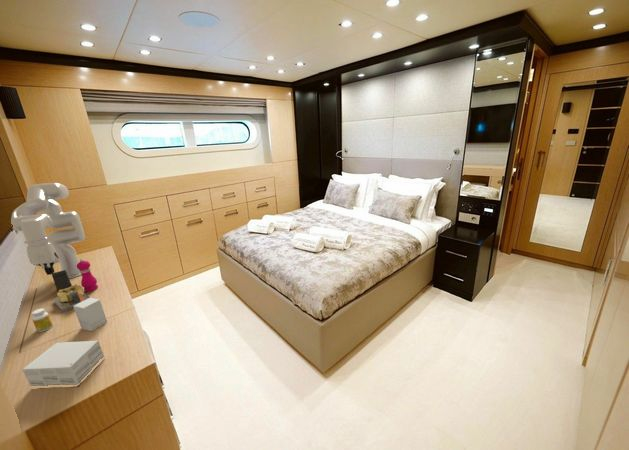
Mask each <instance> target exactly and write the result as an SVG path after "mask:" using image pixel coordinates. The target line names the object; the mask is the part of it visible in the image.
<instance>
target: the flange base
mask: <svg viewBox="0 0 629 450" xmlns="http://www.w3.org/2000/svg"><path fill="white" fill-rule="evenodd" d="M73 291H75V290H71V291H68V292H66V293H70V292H73ZM78 297H79V300H80V302H82V301H84V300H86V299H88V298H91V296H89V295H87V294H86V293H85V292H84V295H82V294H81V293H80V294H78ZM53 302H54V305H56V306H57V307H58V309H59V310H60V311H61V312H62V313H65V312H67V311H69V310H72V309H74V307H73V306H74V305H76V304H78V303H76V304H74V303H73V301H69V302H60V300H59V298H58V297H56V298H53ZM80 302H79V303H80Z"/></svg>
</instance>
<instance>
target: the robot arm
mask: <svg viewBox="0 0 629 450" xmlns="http://www.w3.org/2000/svg"><path fill="white" fill-rule="evenodd" d="M26 195H27V196H26V201H25V202H24V203H22V204H20V205H19V206H18V207H16V208H15V209H14V210H13V211H12V213H11V219H10V224H12V225H13V227H12V229H13V230H15V231H16V232H22V233H23V236H24V238H25V241H23V242H24V244H27V246H26V253H27V257H28V260H29V263H30V264H31V265H33V266H39V267H41V268H42V269H44V272H45V273H46V275H47V276H49V275H51V276H52V273H55V268H54V265H55V264H57V263H58V265H59V266H60V269H61V270H60V271H64V270H66V272H67V275H68V277H69V280H70V279H73V278H78V277H79V276H82V274H81V273H80V271H79V269H77V264H78V263H79V262H80V259H79V257H78V254H77V251H76V249H75V248H74V246H72V245H70V244H75V243H79V242H83V241H85V240H86V234H85V230H84V227H83V223H82V220H81V217H80V215H79V213H78V212H76V211H63V209H62V206H61V204H60V203H59V202H57V201H56V200H61V199H67V198H68V197H69V195H70V192H69V189H68V187H67V186H66V185H64V184H62V183H58V182H47V183H35V184H32V185H29V187H28V188H27V194H26ZM40 212H43V213H40ZM39 213H40V214H39ZM12 225H11V226H12ZM69 227H70V228H69ZM71 227H72V228H71ZM46 228H50V229H57V230H53V231H51V232H49V233H48V234H47V233H46V230H45V229H46ZM62 228H63V229H62ZM65 228H66V229H65ZM58 229H59V230H58Z"/></svg>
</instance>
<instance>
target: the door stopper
mask: <svg viewBox="0 0 629 450" xmlns="http://www.w3.org/2000/svg"><path fill="white" fill-rule="evenodd" d="M51 276H52V278H53V282H54V285H55V289H56V293H58V292H59V290H62V289H66V288H69V287H72V286H73V285H72V282H71V280H70V279H69V277H68V275H67V272H66V270H64V271H62V270H60V271H57V272H55V271H54V273H52V274H51Z"/></svg>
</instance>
